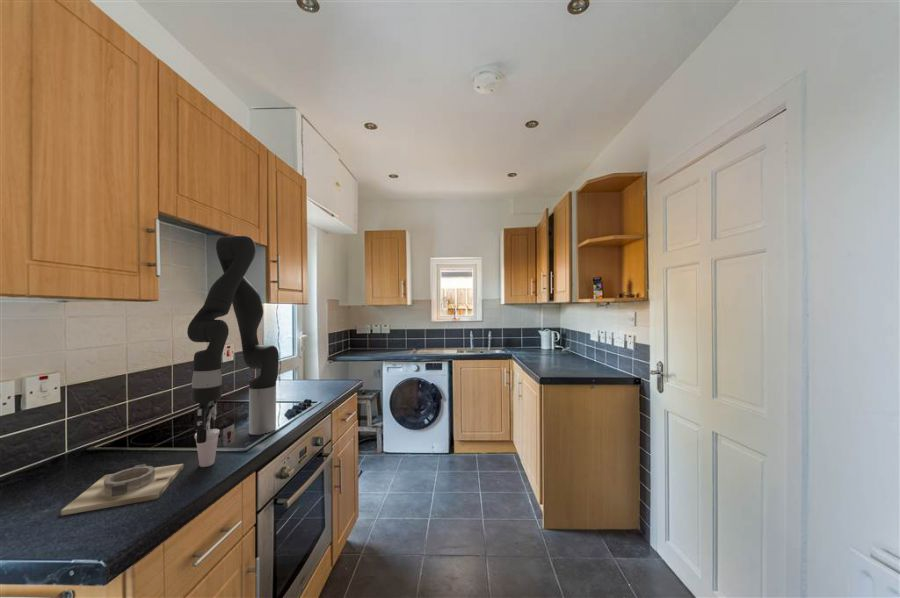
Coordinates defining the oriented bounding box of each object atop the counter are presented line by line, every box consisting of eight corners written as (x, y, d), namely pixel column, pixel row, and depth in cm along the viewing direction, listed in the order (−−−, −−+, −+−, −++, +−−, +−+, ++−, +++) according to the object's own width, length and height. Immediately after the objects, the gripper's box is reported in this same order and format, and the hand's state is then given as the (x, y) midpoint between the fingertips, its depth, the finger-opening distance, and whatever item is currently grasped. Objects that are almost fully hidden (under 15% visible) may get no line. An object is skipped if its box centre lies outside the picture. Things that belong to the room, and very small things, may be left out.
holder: (105, 479, 96) (105, 466, 96) (183, 467, 102) (183, 455, 103) (61, 515, 79) (61, 499, 79) (157, 498, 86) (158, 483, 86)
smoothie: (206, 469, 101) (206, 422, 101) (188, 468, 102) (188, 420, 103) (224, 460, 107) (225, 415, 108) (207, 458, 109) (208, 414, 109)
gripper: (215, 388, 100) (213, 444, 99) (226, 379, 113) (225, 429, 113) (184, 390, 97) (182, 448, 97) (199, 381, 110) (198, 432, 110)
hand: (205, 437), depth 105 cm, fingers open, 8 cm apart
